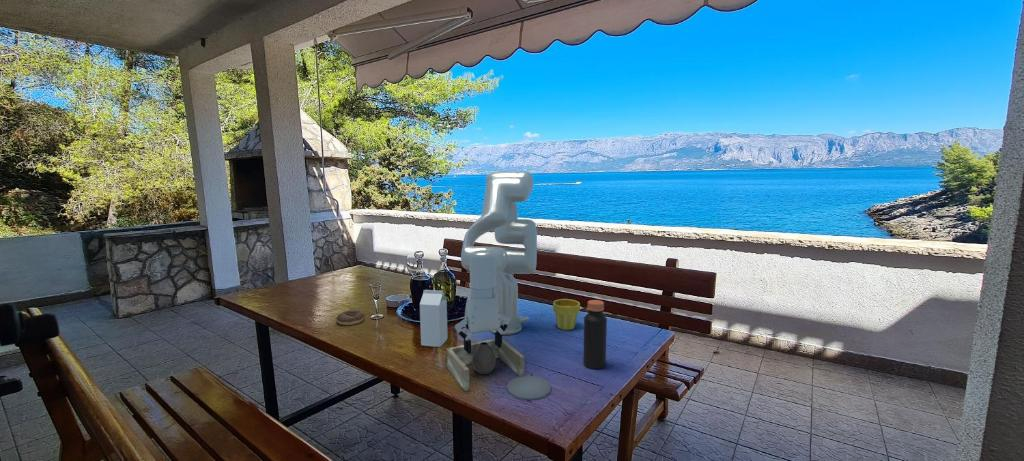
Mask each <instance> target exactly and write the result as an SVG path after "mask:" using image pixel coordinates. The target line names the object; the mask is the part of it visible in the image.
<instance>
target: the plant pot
mask: <svg viewBox="0 0 1024 461" xmlns="http://www.w3.org/2000/svg"><path fill="white" fill-rule="evenodd" d="M552 305H553V306H552V308H553V312H554V315H555V321H556V326H557V328H559V329H560V330H565V331H569V330H573V329H575V326H576V322H577V318H578V314H579V313H580V310H581V303H580V302H579V301H577V300H575V299H570V298H569V299H568V298H561V299H556V300H553V304H552Z"/></svg>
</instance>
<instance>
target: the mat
mask: <svg viewBox="0 0 1024 461" xmlns="http://www.w3.org/2000/svg"><path fill="white" fill-rule="evenodd" d="M506 389H507V392H508V393H509V394H510V395H511V396H512V397H514V398H517V399H520V400H524V401H525V400H526V401H533V400H534V401H535V400H540V399H542V398H543V399H544V398H545V397H547V396H548V395H549V394H550V393H551V391H552V386H551V383H550V381H548V380H547V379H545V378H543V377H540V376H537V375H524V376H517V377H514V378H512V379H511V380H510V381H508V383H507V388H506Z"/></svg>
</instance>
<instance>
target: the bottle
mask: <svg viewBox="0 0 1024 461" xmlns="http://www.w3.org/2000/svg"><path fill="white" fill-rule="evenodd" d="M586 308H587V312H588V313H587V314H585V316H584V318H583V354H582V355H583V357H582V358H583V365H584V366H585V367H586V368H588V369H592V370H601V369H603V368H605V367H606V363H607V330H608V329H607V328H608V327H607V325H608V321H607V320H608V319H607V317H606V316H605V314H604V311H605V302H604V301H603V300H600V299H591V300H588V301H587V307H586Z"/></svg>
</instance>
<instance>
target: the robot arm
mask: <svg viewBox="0 0 1024 461" xmlns="http://www.w3.org/2000/svg"><path fill="white" fill-rule="evenodd" d="M533 189H534V178H533V176H532V174H531V172H529V171H521V170H520V171H516V170H515V171H513V170H512V171H509V170H508V171H507V170H504V171H503V170H500V171H493V172H490V173H488V174H487V175H486V177H485V190H484V197H483V203H482V208H481V209H482V212H481V216H480V217H479V218H478V219H477V220H475V221H474V222H473V223H472V225H471V226H469V228H468V229H467V231H466V233H465V234H464V238H463V241H462V246H461V247H462V248H461V254H460V263H461V266H462V268H464V269H465V270H468V271H469V295H470V296H468V297H467V298H466V303H465V310H464V319H462V320H461V321H460V322H458V323H456V324H455V325H454V329H455V331H456V332H457V334H458V335H459V336H460V337H461V338H463V345H464V350H465V351H466V352H467V353H468V354H471V344H472V340H471V337H472V336H473V335H474V334H479V333H483V332H485V333H486V332H491V333H492V334H494V339H495V345H496V346H497V347H499V348H501V344H502V339H503V335H504V336H505V335H507V336H508V335H514V334H517V333H520V332H521V331H522V328H523V326H522V323H526V322H527V323H528V322H530V317H529V316H523V315H520V316H519V305H518V304H519V303H518V302H519V300H518V299H519V297H518V293H519V289H518V288H519V286H518V281H517V279H515V277H514V276H513V274H516V275H517V274H519V275H523V274H524V275H529V274H533V273H534V272H535V271H536V268H537V262H538V261H537V257H538V256H537V254H538V252H537V251H538V247H537V246H538V240H537V239H538V231H537V225H536V223H535V221H534V220H532V219H528V218H527V219H525V218H523V219H522V218H518V204H517V203H524V202H527V201H528V199H529V197H530V195H531V194H532V192H533ZM493 230H494V239H495V241H496V242H497V243H499V244H501V245H521V246H524V248H523V247H522V248H521V247H519V248H518V247H517V248H516V247H501V246H487V245H486V246H483V245H481V246H479V245H478V246H477V245H475V243H476V241H477V240H478V239H479V238H480V237H481V236H483V235H485V234H487V233H489V232H492V231H493ZM463 327H464V328H465V330H464V332H463V329H462V328H463Z"/></svg>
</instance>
